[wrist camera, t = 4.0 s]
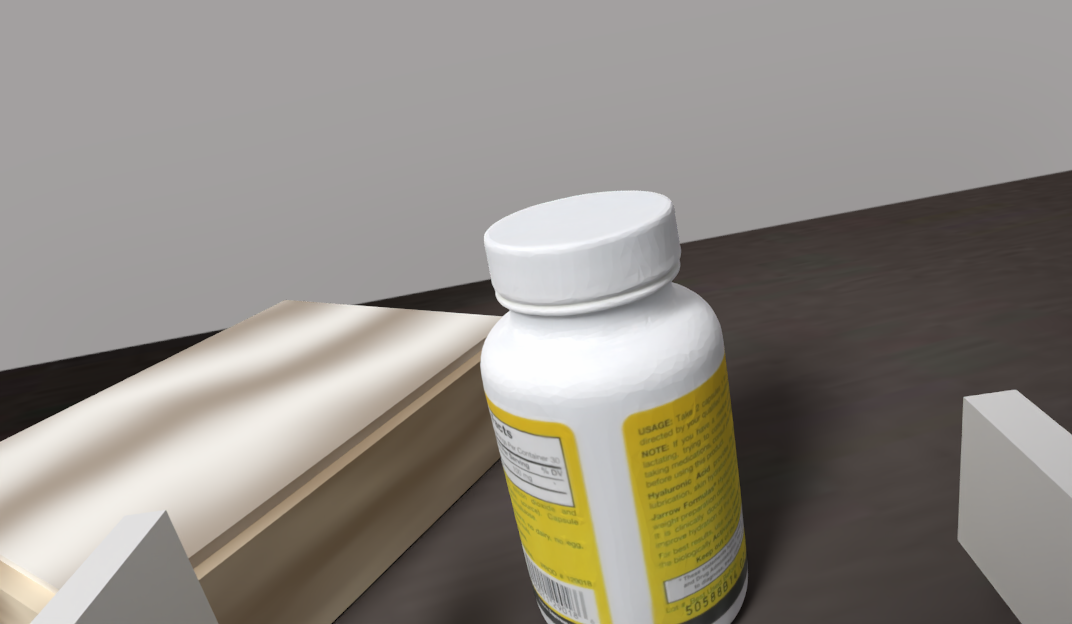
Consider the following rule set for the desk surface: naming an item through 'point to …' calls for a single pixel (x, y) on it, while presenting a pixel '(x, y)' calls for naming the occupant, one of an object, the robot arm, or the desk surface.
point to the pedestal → (260, 459)
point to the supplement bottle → (613, 416)
